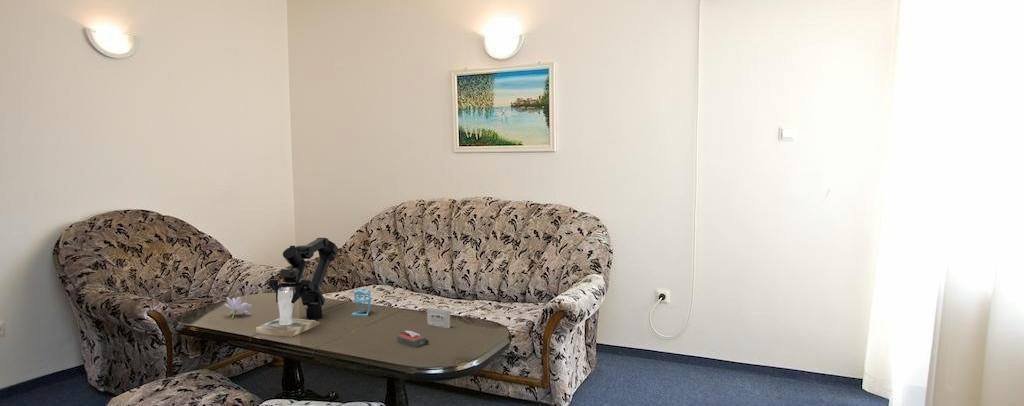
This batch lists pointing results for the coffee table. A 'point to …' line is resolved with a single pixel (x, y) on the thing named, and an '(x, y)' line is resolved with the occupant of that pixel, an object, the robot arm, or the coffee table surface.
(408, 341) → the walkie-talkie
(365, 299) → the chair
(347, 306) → the coffee table surface
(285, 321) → the beer glass
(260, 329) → the dock
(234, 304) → the water lily
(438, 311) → the cassette
